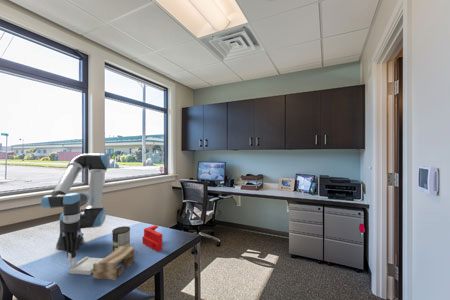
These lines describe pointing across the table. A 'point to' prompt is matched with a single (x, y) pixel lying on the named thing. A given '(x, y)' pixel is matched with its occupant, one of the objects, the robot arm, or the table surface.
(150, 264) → the table surface
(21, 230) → the table surface
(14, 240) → the table surface
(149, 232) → the bracket
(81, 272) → the panel
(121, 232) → the coffee can
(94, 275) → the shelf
